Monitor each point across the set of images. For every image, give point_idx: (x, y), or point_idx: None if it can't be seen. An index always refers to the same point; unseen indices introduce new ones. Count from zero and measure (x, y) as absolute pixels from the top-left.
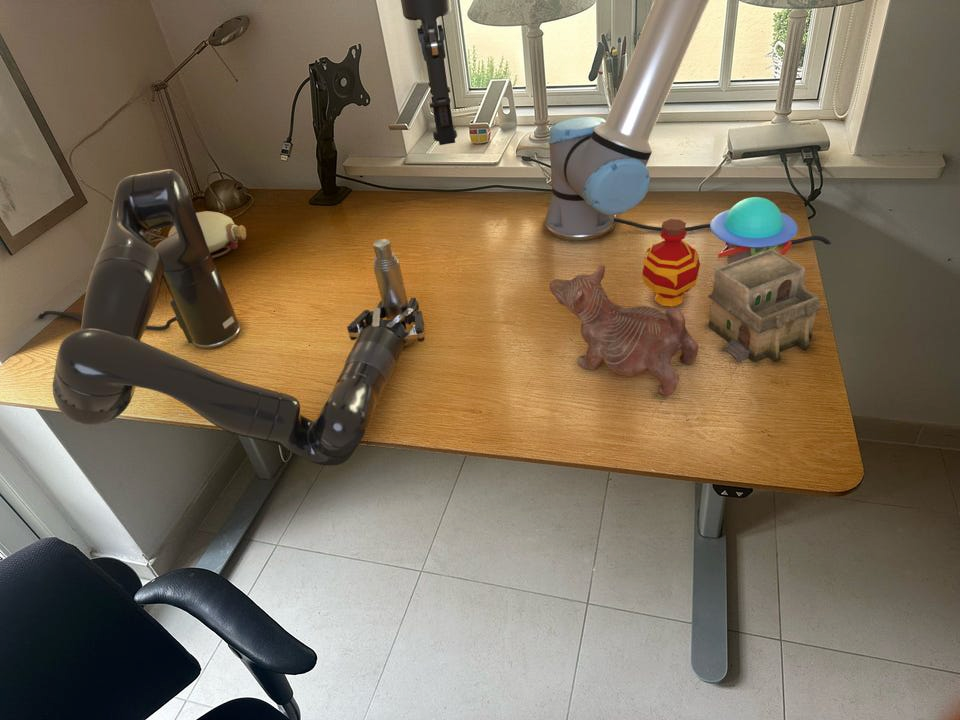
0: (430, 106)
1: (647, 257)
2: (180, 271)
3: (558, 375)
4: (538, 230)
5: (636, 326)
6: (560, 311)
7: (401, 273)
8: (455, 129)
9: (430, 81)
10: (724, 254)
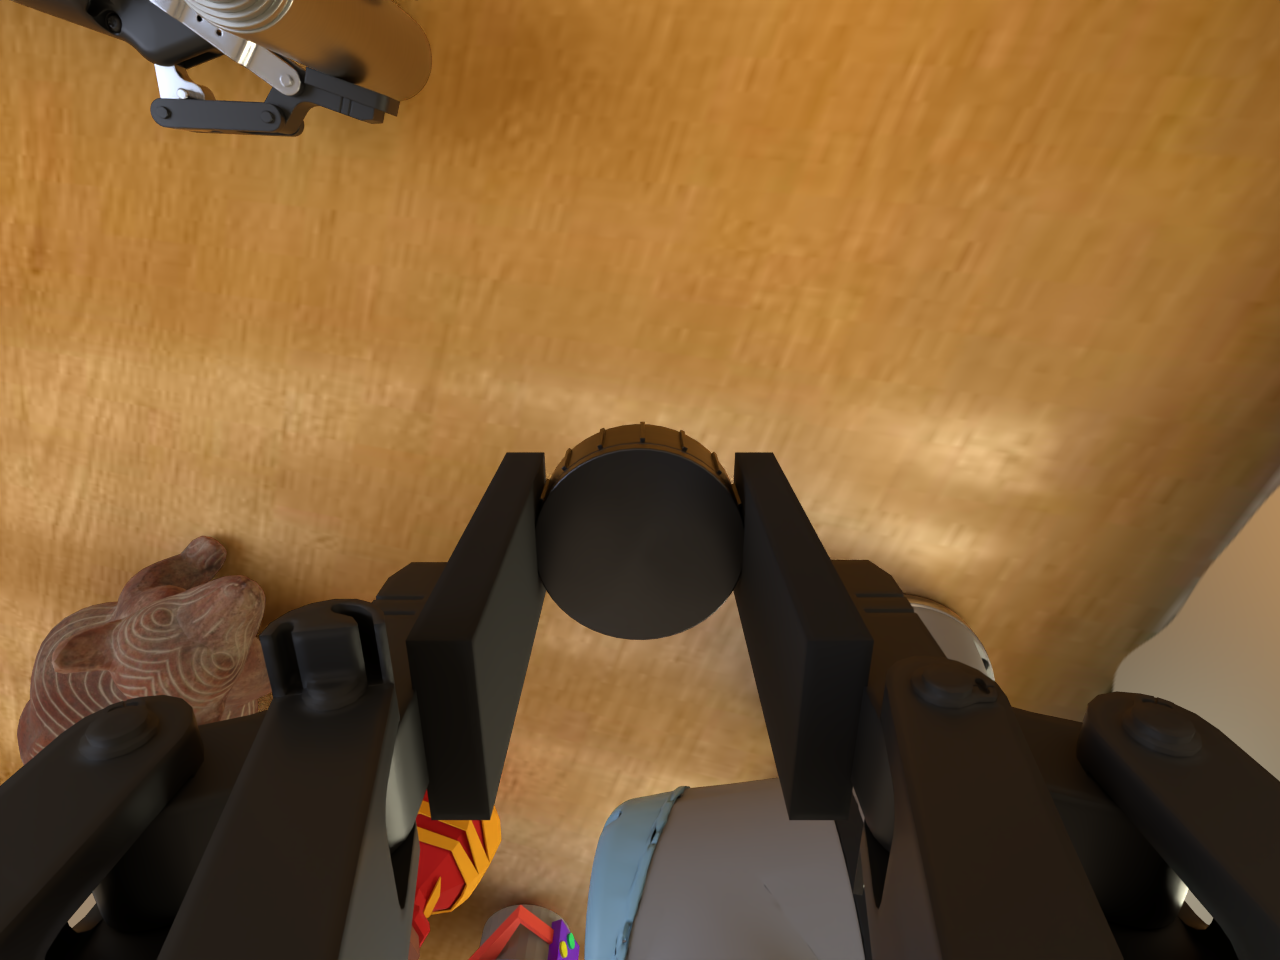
0: (285, 620)
1: (428, 817)
2: None
3: (180, 482)
4: (908, 570)
5: (69, 724)
6: (451, 541)
7: (273, 47)
8: (598, 630)
9: (920, 852)
10: (505, 925)
